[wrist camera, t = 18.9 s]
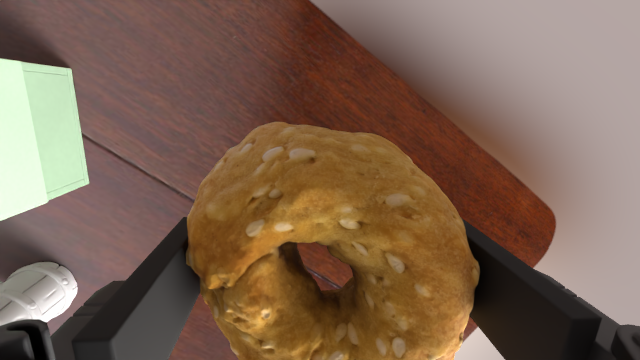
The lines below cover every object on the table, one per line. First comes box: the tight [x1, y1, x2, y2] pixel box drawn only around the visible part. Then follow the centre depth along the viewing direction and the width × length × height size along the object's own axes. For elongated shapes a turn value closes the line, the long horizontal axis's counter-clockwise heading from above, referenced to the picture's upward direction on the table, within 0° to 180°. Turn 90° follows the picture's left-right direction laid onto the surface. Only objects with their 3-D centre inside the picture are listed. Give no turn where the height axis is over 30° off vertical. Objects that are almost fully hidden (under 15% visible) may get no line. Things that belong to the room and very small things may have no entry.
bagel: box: [186, 122, 480, 360], centre depth 11 cm, size 10×11×5 cm
